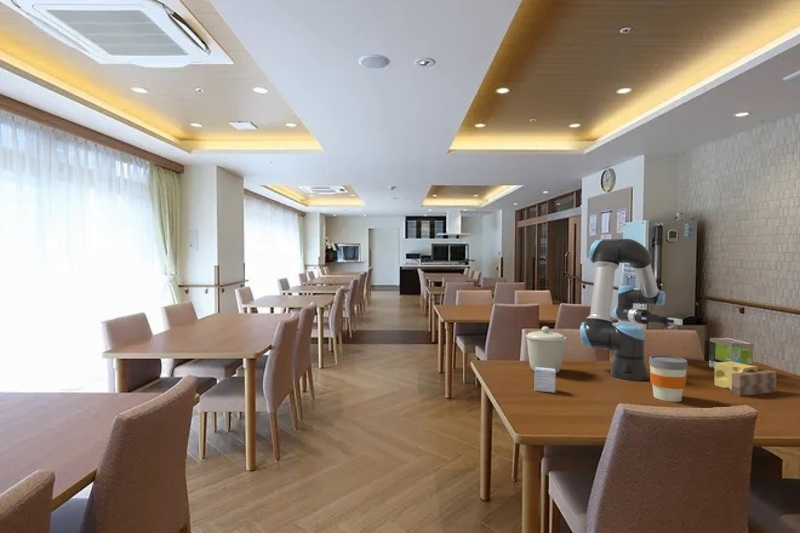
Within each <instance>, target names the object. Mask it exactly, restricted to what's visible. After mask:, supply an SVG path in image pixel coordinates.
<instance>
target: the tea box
mask: <svg viewBox="0 0 800 533" xmlns="http://www.w3.org/2000/svg"><path fill="white" fill-rule="evenodd" d="M708 356H709V359H708V360H709V361H708V362H709V363H708V367H709V368H712V367H713V368H712V369H715V363H719V362H729V361H733V362H737V363H741V364H746V365H752V366H754V365H753V364H754V343H752V342H749V341H748V342H747V341H743V340H739V339H735V338H729V337H709V355H708Z"/></svg>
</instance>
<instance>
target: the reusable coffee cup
mask: <svg viewBox="0 0 800 533" xmlns="http://www.w3.org/2000/svg"><path fill="white" fill-rule="evenodd" d="M648 359H649V360H648V365H649V369H650V370H649V371H648V373H649V379H650V380H649V381H650V383H651V384H652V394H653V397H654V398H655V399H658V400H661V401H664V402H665V401H666V402H673V403H675V402H677V403H678V402H681V401H682V400H683V392H684V389H685V388H686V383H687V376H688V375H687V370H688V368H689V366H688V360H687V359H685V358H683V357H678V356H674V355H673V356H672V355H666V354H654V355H650V356H649V358H648Z"/></svg>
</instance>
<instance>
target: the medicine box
mask: <svg viewBox="0 0 800 533" xmlns="http://www.w3.org/2000/svg"><path fill="white" fill-rule="evenodd" d="M556 374H557V373H556V371H555V369H552V368H540V367H535V371H534V391H535V392H545V393H556V376H557V375H556Z"/></svg>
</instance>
